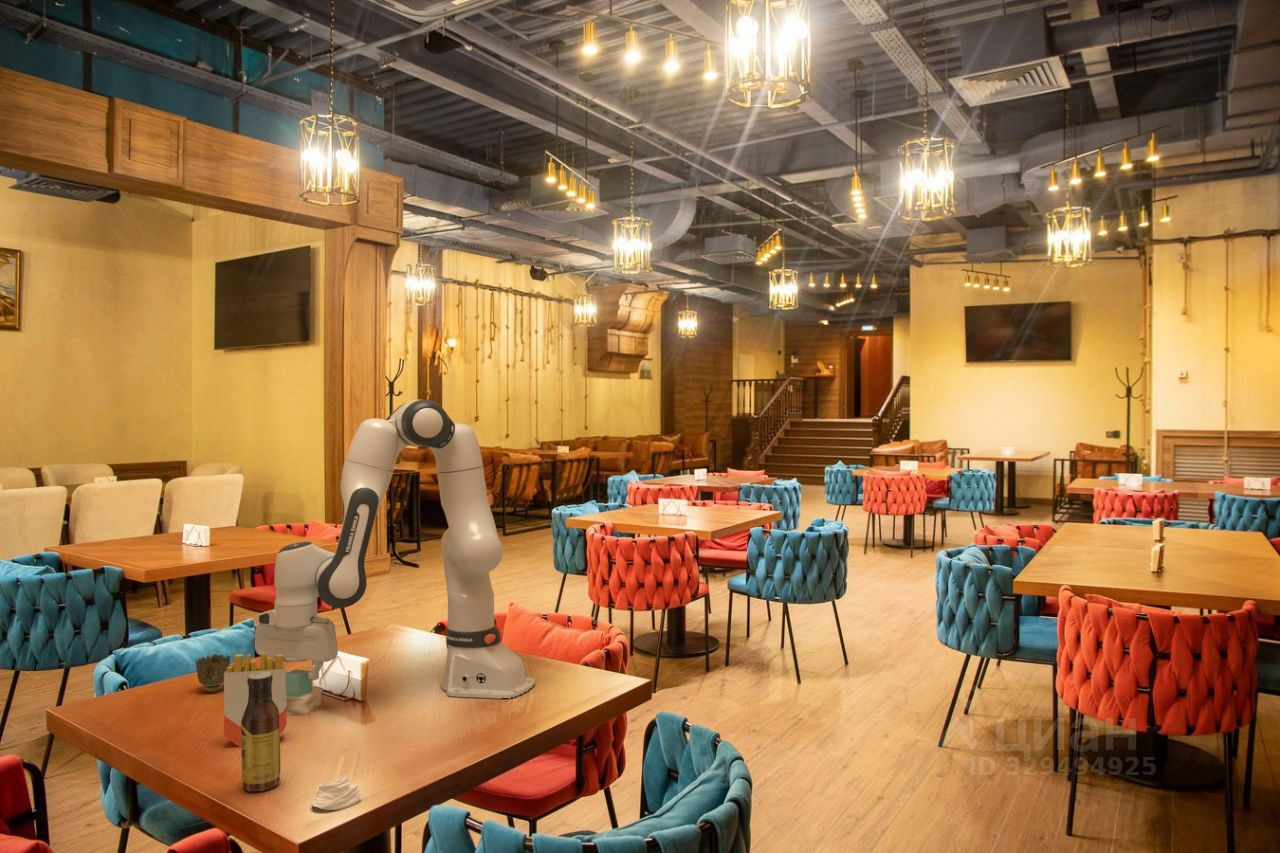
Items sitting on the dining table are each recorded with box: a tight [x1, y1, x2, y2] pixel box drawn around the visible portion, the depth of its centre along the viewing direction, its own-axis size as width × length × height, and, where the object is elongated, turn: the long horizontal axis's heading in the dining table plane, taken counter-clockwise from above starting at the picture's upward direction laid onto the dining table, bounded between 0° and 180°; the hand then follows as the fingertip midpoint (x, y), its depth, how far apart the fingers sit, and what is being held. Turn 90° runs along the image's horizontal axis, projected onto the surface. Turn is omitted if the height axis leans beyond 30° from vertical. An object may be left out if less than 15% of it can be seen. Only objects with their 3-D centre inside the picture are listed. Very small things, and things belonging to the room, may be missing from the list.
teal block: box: [285, 668, 313, 697], centre depth 191 cm, size 4×4×4 cm
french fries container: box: [223, 653, 288, 748], centre depth 171 cm, size 5×11×18 cm, turn 104°
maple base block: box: [286, 686, 322, 717], centre depth 191 cm, size 8×8×4 cm
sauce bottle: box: [240, 671, 281, 792], centre depth 150 cm, size 6×6×20 cm
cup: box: [195, 653, 231, 694], centre depth 204 cm, size 8×7×8 cm
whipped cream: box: [310, 774, 362, 811], centre depth 143 cm, size 8×7×5 cm
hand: (296, 677), depth 191 cm, fingers open, 8 cm apart
